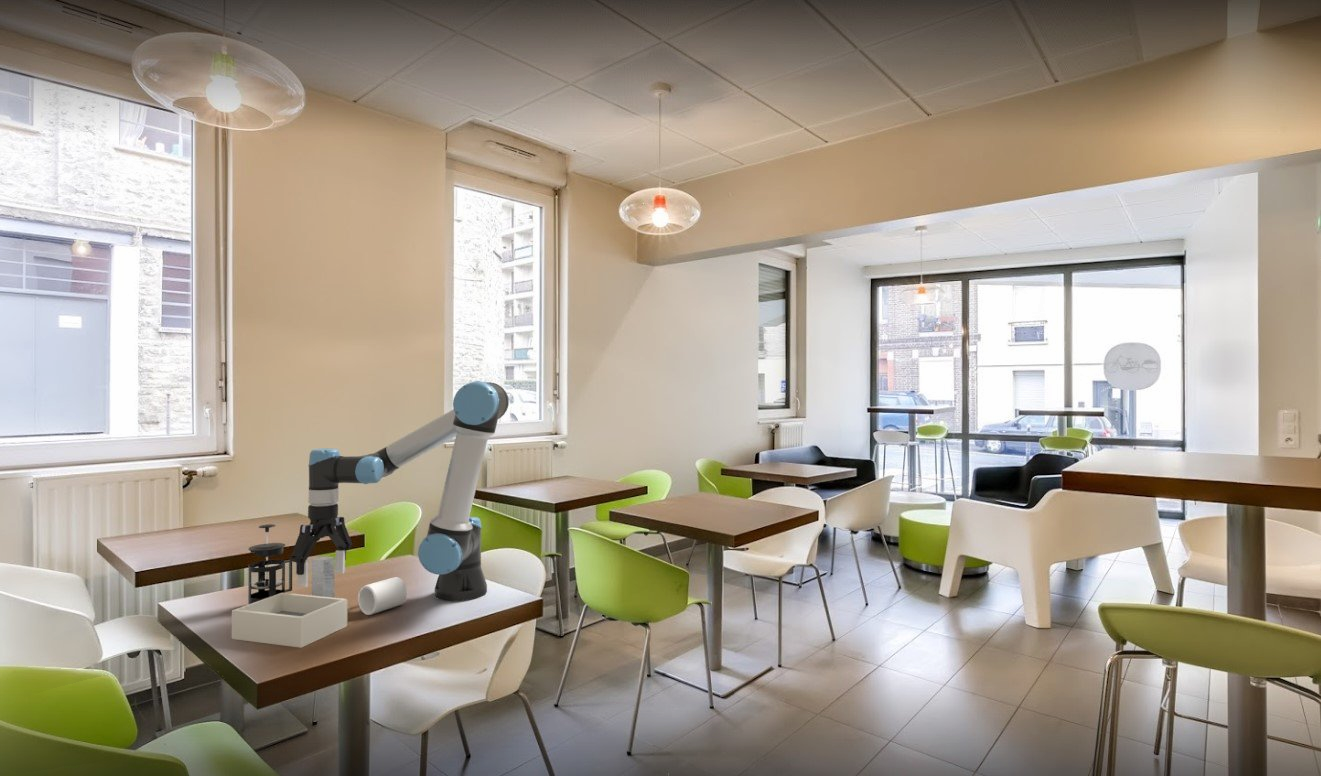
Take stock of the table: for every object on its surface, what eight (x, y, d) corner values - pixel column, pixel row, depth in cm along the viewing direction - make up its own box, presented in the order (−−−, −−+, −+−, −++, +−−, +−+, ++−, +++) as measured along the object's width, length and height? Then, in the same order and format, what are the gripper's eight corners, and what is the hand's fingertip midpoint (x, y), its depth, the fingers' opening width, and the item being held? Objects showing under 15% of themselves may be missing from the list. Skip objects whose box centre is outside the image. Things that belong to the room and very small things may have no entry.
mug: (407, 607, 185) (407, 578, 185) (375, 617, 176) (375, 588, 176) (379, 600, 191) (379, 573, 191) (348, 610, 182) (348, 581, 182)
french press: (251, 614, 179) (251, 530, 179) (239, 606, 185) (240, 525, 185) (297, 603, 188) (297, 523, 188) (285, 597, 194) (285, 519, 194)
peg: (334, 606, 185) (334, 557, 185) (323, 611, 181) (323, 560, 181) (322, 605, 186) (322, 556, 186) (311, 609, 182) (311, 559, 182)
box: (347, 626, 169) (347, 599, 170) (300, 647, 155) (301, 618, 155) (282, 618, 175) (282, 592, 175) (231, 638, 161) (231, 610, 161)
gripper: (344, 496, 197) (343, 566, 197) (275, 510, 173) (274, 590, 173) (365, 497, 195) (364, 569, 195) (298, 512, 171) (296, 593, 171)
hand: (321, 579), depth 184 cm, fingers open, 13 cm apart
